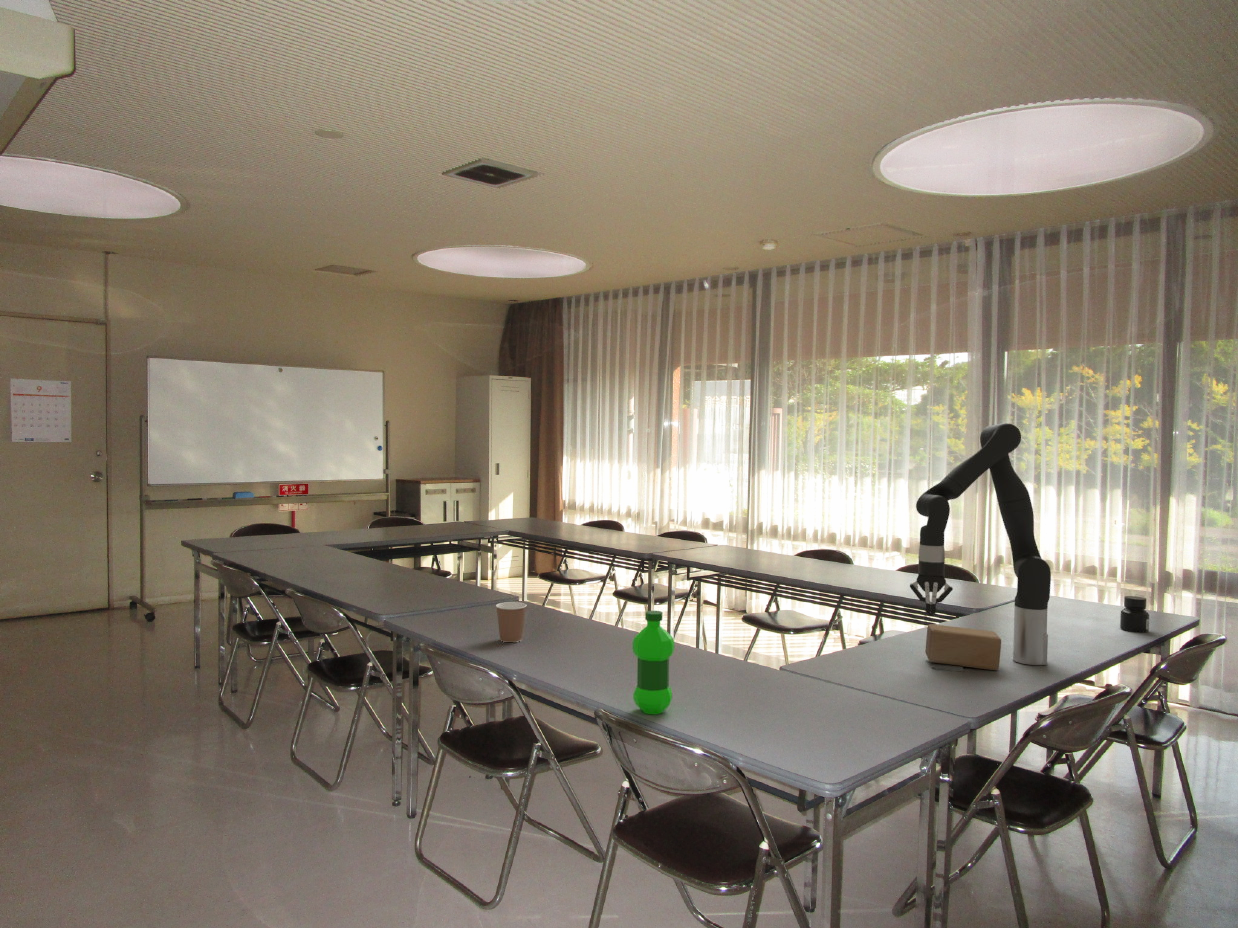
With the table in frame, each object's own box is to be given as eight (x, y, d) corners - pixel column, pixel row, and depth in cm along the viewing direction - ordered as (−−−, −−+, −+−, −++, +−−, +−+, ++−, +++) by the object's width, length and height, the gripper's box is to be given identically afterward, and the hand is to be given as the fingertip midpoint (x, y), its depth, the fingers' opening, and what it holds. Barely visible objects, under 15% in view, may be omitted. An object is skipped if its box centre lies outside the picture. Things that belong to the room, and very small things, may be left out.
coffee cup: (529, 637, 280) (529, 602, 279) (522, 644, 269) (523, 608, 269) (499, 636, 281) (499, 601, 280) (492, 643, 270) (492, 607, 270)
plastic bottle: (676, 717, 203) (677, 616, 202) (633, 717, 202) (634, 617, 201) (670, 703, 212) (671, 607, 212) (630, 704, 212) (631, 608, 211)
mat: (961, 660, 257) (961, 658, 257) (963, 671, 245) (963, 669, 245) (930, 657, 260) (930, 655, 260) (931, 668, 248) (931, 666, 248)
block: (928, 662, 250) (999, 671, 245) (931, 629, 249) (1002, 638, 244) (924, 654, 259) (992, 662, 254) (927, 622, 259) (995, 630, 254)
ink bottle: (1154, 633, 296) (1156, 600, 295) (1130, 633, 296) (1131, 600, 295) (1138, 627, 305) (1139, 595, 305) (1114, 626, 305) (1115, 594, 305)
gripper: (954, 558, 254) (953, 614, 255) (908, 556, 258) (907, 611, 259) (955, 562, 247) (954, 619, 248) (908, 559, 251) (907, 616, 252)
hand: (930, 615), depth 253 cm, fingers closed
